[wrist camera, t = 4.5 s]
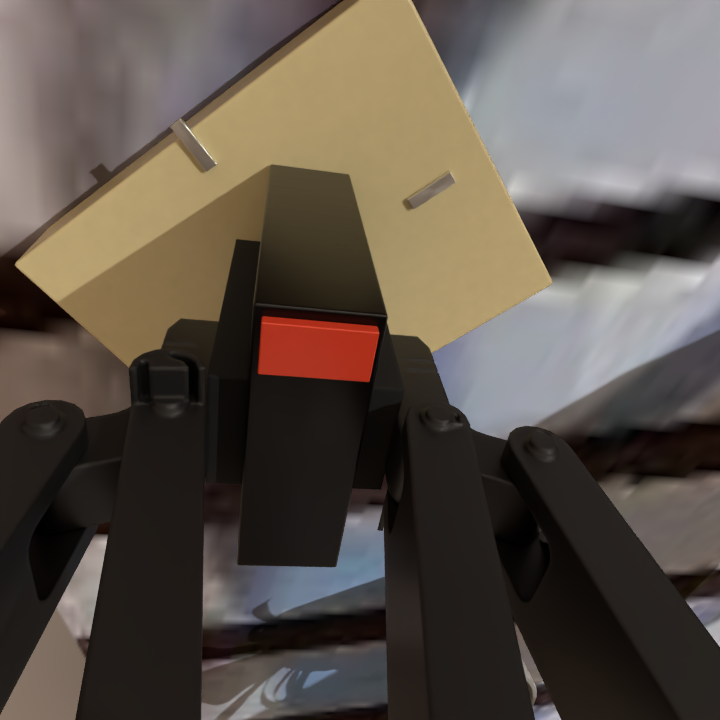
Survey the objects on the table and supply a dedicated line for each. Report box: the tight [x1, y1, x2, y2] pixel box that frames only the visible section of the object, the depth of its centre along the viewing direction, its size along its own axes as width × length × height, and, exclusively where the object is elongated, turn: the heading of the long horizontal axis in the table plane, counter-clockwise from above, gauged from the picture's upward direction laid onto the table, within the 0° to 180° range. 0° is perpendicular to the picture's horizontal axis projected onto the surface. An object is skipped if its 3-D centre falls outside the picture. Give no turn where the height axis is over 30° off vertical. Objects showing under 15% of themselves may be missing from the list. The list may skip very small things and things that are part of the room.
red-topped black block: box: [237, 164, 388, 567], centre depth 14 cm, size 6×2×8 cm, turn 171°
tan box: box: [15, 0, 552, 367], centre depth 19 cm, size 13×11×3 cm
